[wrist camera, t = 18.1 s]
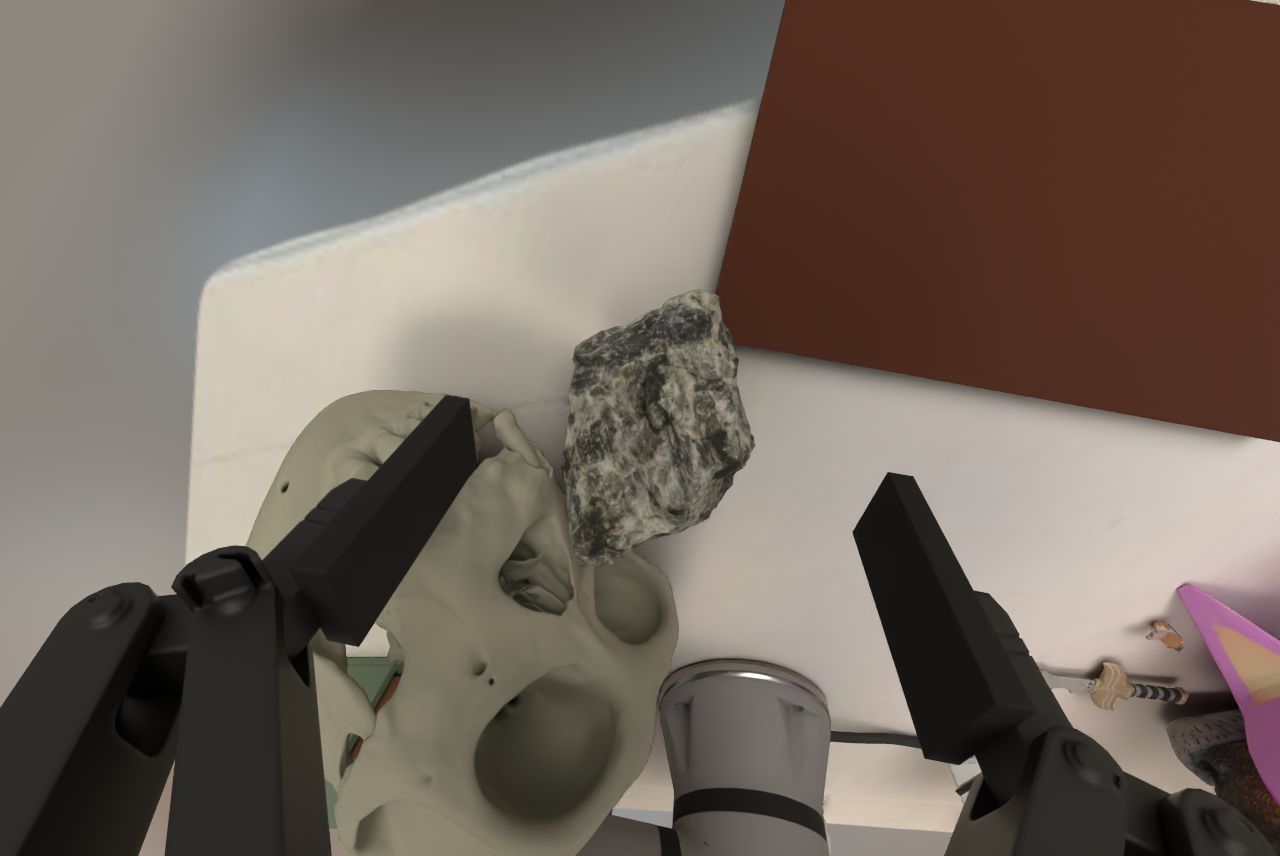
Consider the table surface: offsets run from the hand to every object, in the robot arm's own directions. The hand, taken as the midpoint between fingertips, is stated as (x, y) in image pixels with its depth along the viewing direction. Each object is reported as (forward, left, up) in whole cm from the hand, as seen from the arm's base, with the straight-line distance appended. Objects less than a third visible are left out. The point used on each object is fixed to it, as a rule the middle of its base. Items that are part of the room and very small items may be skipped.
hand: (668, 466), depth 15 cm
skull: (+19, +25, -1) cm, 32 cm away
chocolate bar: (-16, -2, -9) cm, 19 cm away
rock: (-3, +5, -10) cm, 11 cm away
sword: (-21, +34, -9) cm, 41 cm away
